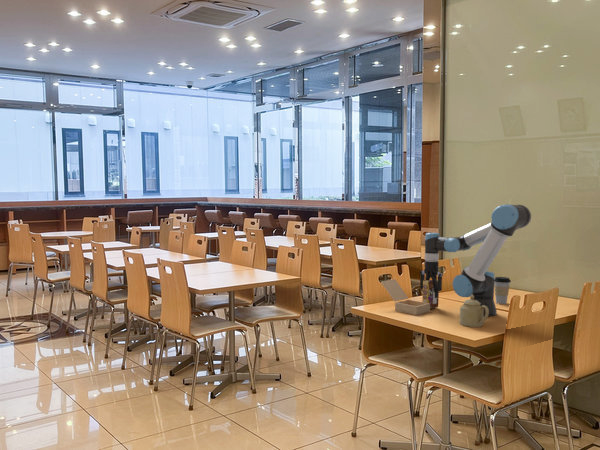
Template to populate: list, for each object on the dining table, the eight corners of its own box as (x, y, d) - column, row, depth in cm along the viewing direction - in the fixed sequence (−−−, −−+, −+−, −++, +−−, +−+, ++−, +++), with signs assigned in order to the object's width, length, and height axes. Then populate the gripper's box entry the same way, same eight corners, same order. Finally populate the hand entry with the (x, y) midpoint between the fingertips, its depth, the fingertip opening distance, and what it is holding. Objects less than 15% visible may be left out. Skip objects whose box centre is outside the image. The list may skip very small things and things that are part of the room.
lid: (395, 279, 320) (394, 279, 321) (381, 281, 311) (380, 281, 311) (408, 298, 314) (408, 298, 314) (394, 301, 305) (394, 301, 305)
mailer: (429, 311, 305) (430, 303, 305) (416, 315, 296) (416, 306, 295) (408, 307, 314) (408, 299, 314) (394, 310, 305) (395, 302, 305)
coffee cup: (492, 303, 331) (493, 278, 330) (493, 301, 340) (494, 276, 339) (509, 305, 327) (510, 279, 326) (510, 302, 336) (511, 277, 335)
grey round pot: (493, 325, 276) (495, 294, 275) (487, 329, 267) (488, 298, 266) (463, 320, 285) (465, 291, 284) (456, 324, 276) (457, 294, 275)
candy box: (427, 309, 309) (427, 281, 308) (421, 308, 312) (422, 280, 312) (439, 307, 314) (439, 280, 313) (433, 306, 317) (433, 279, 317)
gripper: (449, 261, 308) (448, 304, 309) (421, 258, 321) (420, 299, 322) (442, 262, 303) (441, 306, 304) (414, 259, 315) (412, 301, 317)
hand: (430, 302), depth 313 cm, fingers closed on candy box, 5 cm apart
